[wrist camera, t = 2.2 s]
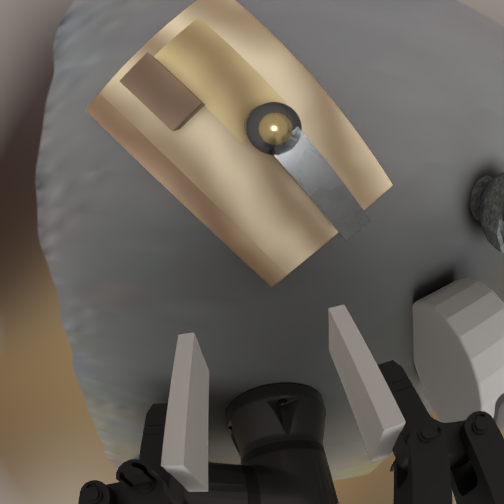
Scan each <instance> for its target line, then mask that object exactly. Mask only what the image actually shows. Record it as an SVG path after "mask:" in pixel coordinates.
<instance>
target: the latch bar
mask: <svg viewBox="0 0 504 504" xmlns="http://www.w3.org/2000/svg"><path fill="white" fill-rule="evenodd" d="M244 130H245V134H246V136H247V138H248V140H249V141H250V142H251V143H252V144H253V146H254V147H256V148H257V149H258V150H259V151H261V152H263V153H265V154H269V155H272V156H273V157H274V158H275V159H276V160H277V161H278V162H279V163H280V165H281V166H282V167H283V168H284V169H285V170H286V171H287V172H288V174H289V175H290V176H291V177H292V178H293V179H294V180H295V182H296V183H297V184H298V185H299V186H300V187H301V188H302V190H303V191H304V192H305V193H306V194H307V195H308V197H309V198H310V199H311V200H312V201H313V203H314V204H315V205H316V206H317V207H318V209H319V210H320V211H321V212H322V213H323V215H324V216H325V217H326V218H327V219H328V221H329V222H330V223H331V224H332V226H333V227H334V228H335V229H336V230H337V231H338V232H339V234H340V235H341V236H342V237H343V238H344V239H345V240H346V241H347V240H348V239H350V238H351V237H352V236H353V235H354V234H355V233H357V232H358V231H359V230H360V229H361V228H362V227H364V226H365V225H366V224H367V223H368V222H369V221H370V219H369V217H368V216H367V214H366V213H365V211H364V210H363V209H362V207H361V206H360V204H359V203H358V202H357V200H356V199H355V198H354V196H353V195H352V194H351V192H350V191H349V189H348V188H347V187H346V185H345V184H344V183H343V182H342V180H341V179H340V178H339V176H338V175H337V174H336V172H335V171H334V170H333V169H332V167H331V166H330V165H329V163H328V162H327V161H326V160H325V158H324V157H323V156H322V155H321V154H320V152H319V151H318V150H317V149H316V147H315V146H314V145H313V144H312V143H311V141H310V140H309V139H308V138H307V137H306V135H305V134H304V133H303V132H302V126H301V121H300V118H299V116H298V115H297V113H296V112H295V111H294V110H293V109H292V108H291V107H289V106H288V105H286V104H283V103H279V102H269V103H265V104H262V105H259V106H257V107H255V108H254V109H252V110H251V111H250V113H249V114H248V115H247V117H246V120H245V124H244Z"/></svg>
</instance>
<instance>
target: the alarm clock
mask: <svg viewBox="0 0 504 504" xmlns="http://www.w3.org/2000/svg"><path fill="white" fill-rule="evenodd" d="M412 311H413V336H414V364H415V367H416V371H417V373H418V376H419V379H420V382H421V385H422V387H423V389H424V392H425V394H426V396H427V399H428V400H429V402H430V404H431V406H432V408H433V410H434V412H435V414H436V415H437V417H438V418H439V420H440V422H443V423H450V422H457V421H463V420H466V419H467V418H468V416H469V415H470V414H472V413H473V412H476V411H485V412H487V413H488V414H490V415H491V416H492V418H493V419H494V421H495V423H496V424H497V426H498V428H499V429H501V428H502V427H503V426H504V303H503V301H502V300H501V299H500V298H499V297H498V296H497V295H496V294H495V293H494V291H493V290H491V289H490V288H488V287H487V286H485V285H484V284H482V283H481V282H479V281H476V280H473V279H469V278H463V279H457V280H455V281H453V282H452V283H450V284H448V285H446V286H444V287H442V288H441V289H439V290H437V291H435V292H433V293H431V294H429V295H427V296H425V297H423V298H421V299H419V300H417V301H416V302H415V303H414V304H413V306H412Z"/></svg>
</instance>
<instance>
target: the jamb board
mask: <svg viewBox="0 0 504 504" xmlns="http://www.w3.org/2000/svg"><path fill="white" fill-rule="evenodd" d="M269 102H279V103H283V104H286V105H288V106H289V107H291V108H292V109H293V110H294V111H295V112H296V113H297V115H298V116H299V118H300V121H301V126H302V132H303V133H304V134H305V135H306V137H307V138H308V139H309V140H310V141H311V143H312V144H313V145H314V146H315V147H316V149H317V150H318V151H319V152H320V154H321V155H322V156H323V157H324V158H325V160H326V161H327V162H328V163H329V165H330V166H331V167H332V169H333V170H334V171H335V172H336V174H337V175H338V176H339V178H340V179H341V180H342V182H343V183H344V184H345V185H346V187H347V188H348V189H349V191H350V192H351V194H352V195H353V196H354V198H355V199H356V200H357V202H358V203H359V204H360V206H361V207H362V209H363V210H365V209H366V208H367V207H368V206H370V205H371V204H372V203H373V202H374V201H375V200H376V199H377V198H379V197H380V196H381V195H382V194H383V193H384V192H385V191H387V190H388V189H389V188H390V187H391V186H392V183H391V181H390V180H389V178H388V177H387V175H386V174H385V172H384V171H383V169H382V167H381V166H380V164H379V163H378V161H377V160H376V158H375V157H374V156H373V154H372V153H371V151H370V150H369V148H368V147H367V145H366V144H365V143H364V141H363V140H362V138H361V137H360V136H359V134H358V133H357V132H356V130H355V129H354V127H353V126H352V125H351V123H350V122H349V121H348V120H347V118H346V117H345V116H344V114H343V113H342V112H341V110H340V109H339V108H338V107H337V105H336V104H335V103H334V102H333V100H332V99H331V98H330V97H329V96H328V94H327V93H326V92H325V91H324V90H323V88H322V87H321V86H320V85H319V84H318V82H317V81H316V80H315V79H314V78H313V77H312V76H311V74H310V73H309V72H308V71H307V70H306V69H305V68H304V67H303V66H302V64H301V63H300V62H299V61H298V60H297V59H296V58H295V57H294V56H293V55H292V54H291V53H290V52H289V51H288V50H287V49H286V47H285V46H284V45H283V44H282V43H281V42H280V41H279V40H278V39H277V38H276V37H275V36H274V35H273V34H272V33H271V32H269V31H268V30H267V29H266V28H265V27H264V26H263V25H262V24H261V23H260V22H259V21H258V20H257V19H256V18H255V17H254V16H252V15H251V14H250V13H249V12H248V11H247V10H246V9H245V8H243V7H242V6H241V5H240V4H239V3H238V2H236V1H235V0H197V1H196V2H194V3H193V4H192V5H190V6H189V7H188V8H186V9H185V10H184V11H183V12H181V13H180V14H179V15H178V16H177V17H175V18H174V19H173V20H172V21H171V22H169V23H168V24H167V25H166V26H165V27H164V28H163V29H161V30H160V31H159V32H158V33H157V34H156V35H155V36H154V37H153V38H151V39H150V40H149V41H148V42H147V43H146V44H145V45H144V46H143V47H142V48H141V49H140V50H139V51H138V52H137V53H136V54H135V55H134V56H133V57H132V58H131V59H130V60H129V61H128V62H127V63H126V64H125V65H124V66H123V67H122V68H121V69H120V70H119V71H118V73H117V74H116V75H115V76H114V77H113V78H112V79H111V80H110V81H109V83H108V84H107V85H106V86H105V87H104V88H103V89H102V91H101V92H100V93H99V94H98V95H97V96H96V98H95V99H94V100H93V101H92V102H91V104H90V105H89V106H88V107H87V109H86V111H87V112H88V113H89V114H90V115H91V116H92V117H93V118H94V119H95V120H96V121H97V122H98V123H99V124H100V125H101V126H102V127H103V128H104V129H105V130H106V131H107V132H108V133H109V134H110V135H111V136H112V137H113V138H114V139H115V140H116V141H117V142H119V143H120V144H121V145H122V146H123V147H124V148H125V149H126V150H127V151H128V152H129V153H130V154H131V155H132V156H133V157H134V158H135V159H136V160H137V161H138V162H139V163H140V164H141V165H142V166H143V167H144V168H146V169H147V170H148V171H149V172H150V173H151V174H152V175H153V176H154V177H155V178H156V179H157V180H158V181H159V182H160V183H161V184H162V185H163V186H164V187H165V188H166V189H168V190H169V191H170V192H171V193H172V194H173V195H174V196H175V197H176V198H177V199H178V200H179V201H180V202H181V203H182V204H183V205H184V206H185V207H186V208H188V209H189V210H190V211H191V212H192V213H193V214H194V215H195V216H196V217H197V218H198V219H199V220H200V221H201V222H202V223H203V224H204V225H206V226H207V227H208V228H209V229H210V230H211V231H212V232H213V233H214V234H215V235H216V236H217V237H218V238H219V239H220V240H222V241H223V242H224V243H225V244H226V245H227V246H228V247H229V248H230V249H231V250H232V251H233V252H234V253H235V254H236V255H238V256H239V257H240V258H241V259H242V260H243V261H244V262H245V263H246V264H247V265H248V266H249V267H250V268H251V269H253V270H254V271H255V272H256V273H257V274H258V275H259V276H260V277H261V278H262V279H263V280H264V281H265V282H267V283H268V284H269V285H270V286H271V287H273V286H274V285H275V284H277V283H278V282H279V281H280V280H282V279H283V278H284V277H285V276H287V275H288V274H289V273H290V272H291V271H292V270H294V269H295V268H296V267H297V266H299V265H300V264H301V263H302V262H303V261H305V260H306V259H307V258H308V257H309V256H311V255H312V254H313V253H314V252H316V251H317V250H318V249H319V248H320V247H322V246H323V245H324V244H325V243H326V242H327V241H329V240H330V239H331V238H332V237H333V236H335V235H336V234H337V233H338V231H337V230H336V229H335V228H334V227H333V226H332V224H331V223H330V222H329V221H328V219H327V218H326V217H325V216H324V215H323V213H322V212H321V211H320V210H319V209H318V207H317V206H316V205H315V204H314V203H313V201H312V200H311V199H310V198H309V197H308V195H307V194H306V193H305V192H304V191H303V190H302V188H301V187H300V186H299V185H298V184H297V183H296V182H295V180H294V179H293V178H292V177H291V176H290V175H289V174H288V172H287V171H286V170H285V169H284V168H283V167H282V166H281V165H280V163H279V162H278V161H277V160H276V159H275V158H274V157H273V156H272V155H269V154H265V153H263V152H261V151H259V150H258V149H257V148H256V147H254V146H253V144H252V143H251V142H250V141H249V140H248V138H247V136H246V134H245V130H244V124H245V120H246V117H247V115H248V114H249V113H250V111H251V110H252V109H254V108H255V107H257V106H259V105H262V104H265V103H269Z"/></svg>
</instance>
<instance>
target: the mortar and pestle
mask: <svg viewBox="0 0 504 504" xmlns="http://www.w3.org/2000/svg"><path fill="white" fill-rule="evenodd" d="M470 209H471V212H472V214H473V217H474V218H475V219H477V220H479V221H480V222H481V225H482V228H483V231H484V233H485V235H486V238H487V240H488V241H489V242H490V243H491V244H492V245H493V246H494V247H495V248H496V249H497V250H499V251H500V252H502V253H504V173H502V174H500V175H498V176H496V177H494V178H492V177H490V176H488V175H486V176H484V177H482V178H480V179H479V180H477V182H476V184H475V186H474V188H473V190H472V192H471V200H470Z"/></svg>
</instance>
